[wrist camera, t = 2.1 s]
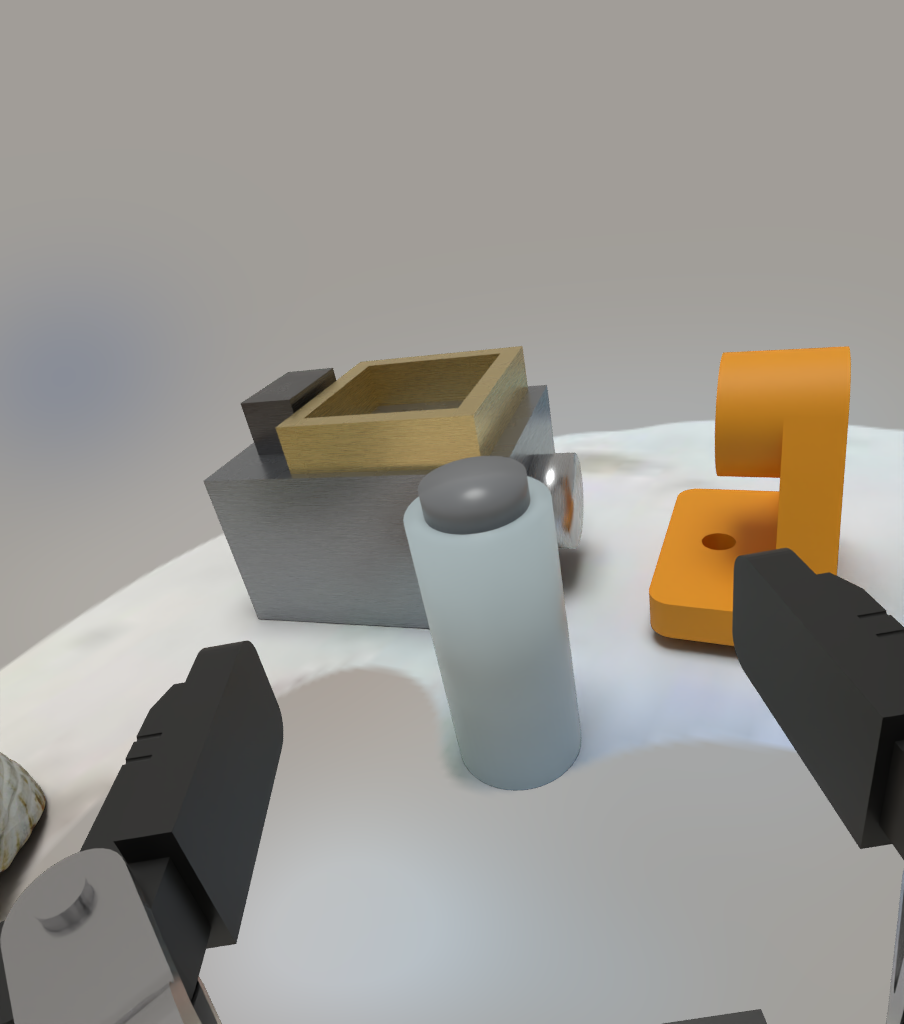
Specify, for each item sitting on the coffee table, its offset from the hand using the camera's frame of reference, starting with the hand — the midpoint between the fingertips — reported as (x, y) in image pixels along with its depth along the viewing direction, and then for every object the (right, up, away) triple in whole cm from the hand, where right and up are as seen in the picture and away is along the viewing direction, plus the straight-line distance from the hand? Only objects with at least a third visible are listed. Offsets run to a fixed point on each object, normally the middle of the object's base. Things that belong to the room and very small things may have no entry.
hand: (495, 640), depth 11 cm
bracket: (+14, -2, +22) cm, 26 cm away
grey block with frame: (-3, -1, +29) cm, 29 cm away
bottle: (+2, -7, +16) cm, 18 cm away
